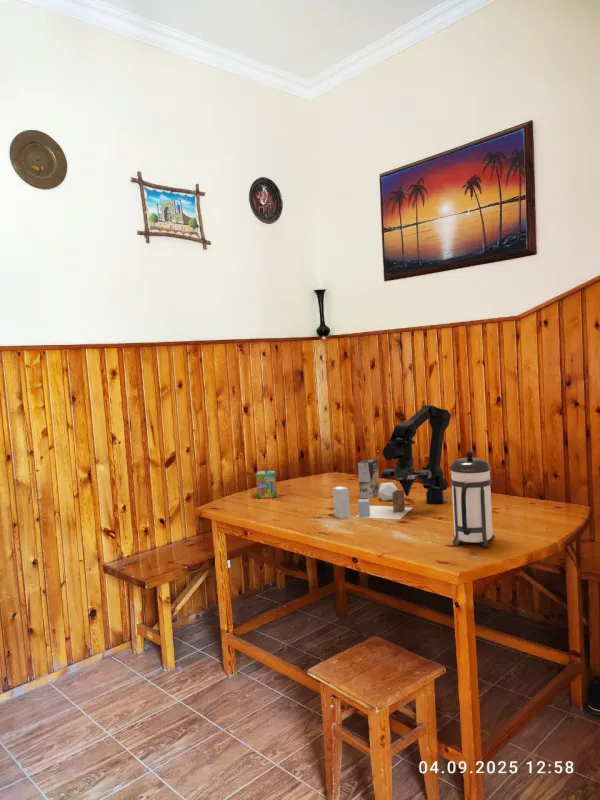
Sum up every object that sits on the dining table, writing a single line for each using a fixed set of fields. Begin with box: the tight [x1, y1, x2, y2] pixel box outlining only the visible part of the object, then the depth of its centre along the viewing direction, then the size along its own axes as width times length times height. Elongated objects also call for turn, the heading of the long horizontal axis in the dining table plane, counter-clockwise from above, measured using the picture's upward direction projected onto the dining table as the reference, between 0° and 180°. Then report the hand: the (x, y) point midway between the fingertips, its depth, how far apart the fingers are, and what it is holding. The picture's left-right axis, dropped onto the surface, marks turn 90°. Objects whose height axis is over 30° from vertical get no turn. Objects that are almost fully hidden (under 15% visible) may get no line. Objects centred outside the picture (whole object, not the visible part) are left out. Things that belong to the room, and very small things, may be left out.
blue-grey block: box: [357, 498, 371, 518], centre depth 236 cm, size 4×4×6 cm
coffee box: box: [357, 458, 380, 499], centre depth 271 cm, size 9×6×16 cm
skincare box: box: [331, 486, 352, 520], centre depth 236 cm, size 6×4×12 cm
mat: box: [355, 505, 413, 520], centre depth 239 cm, size 18×18×1 cm
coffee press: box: [449, 450, 495, 549], centre depth 194 cm, size 17×16×30 cm
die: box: [377, 481, 399, 502], centre depth 260 cm, size 8×9×10 cm
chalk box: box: [255, 464, 278, 499], centre depth 284 cm, size 9×9×15 cm
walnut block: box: [392, 489, 406, 513], centre depth 238 cm, size 3×5×8 cm, turn 154°
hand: (407, 495), depth 237 cm, fingers closed
